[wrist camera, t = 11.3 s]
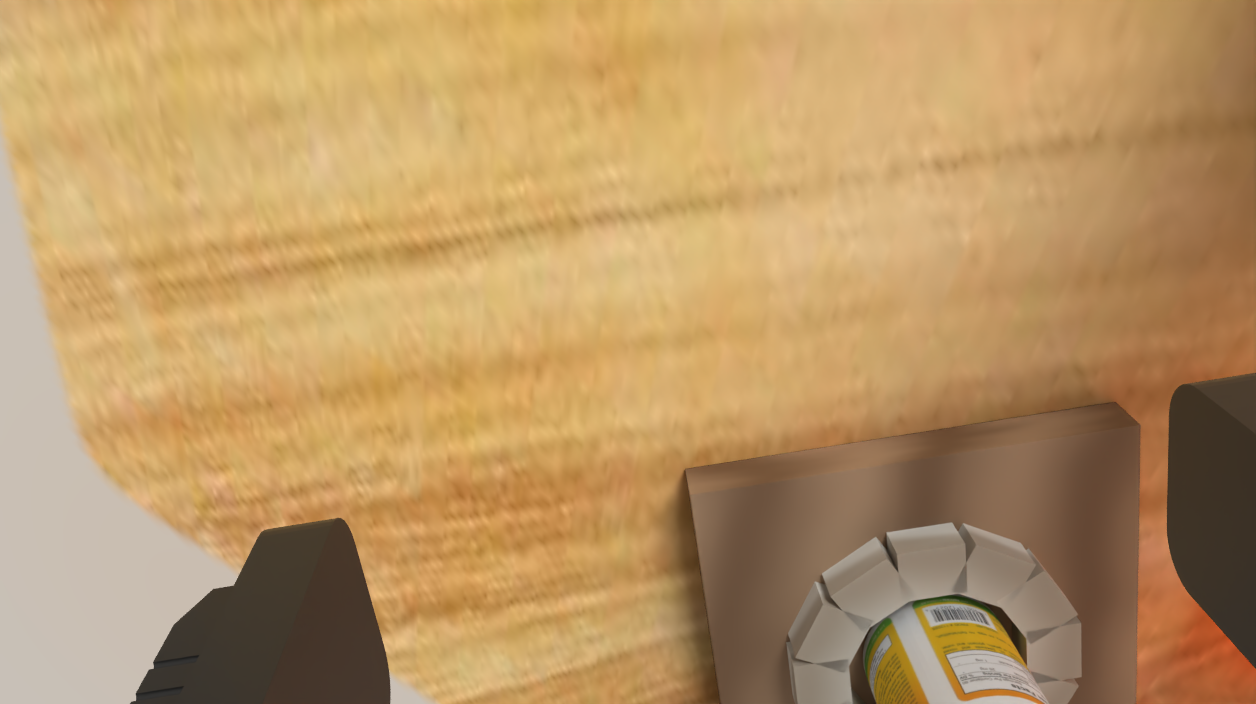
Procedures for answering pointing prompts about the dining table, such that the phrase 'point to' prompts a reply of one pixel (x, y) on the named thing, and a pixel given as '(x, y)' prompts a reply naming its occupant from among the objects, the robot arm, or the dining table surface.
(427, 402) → the dining table surface
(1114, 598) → the stone ring base
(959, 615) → the supplement bottle
